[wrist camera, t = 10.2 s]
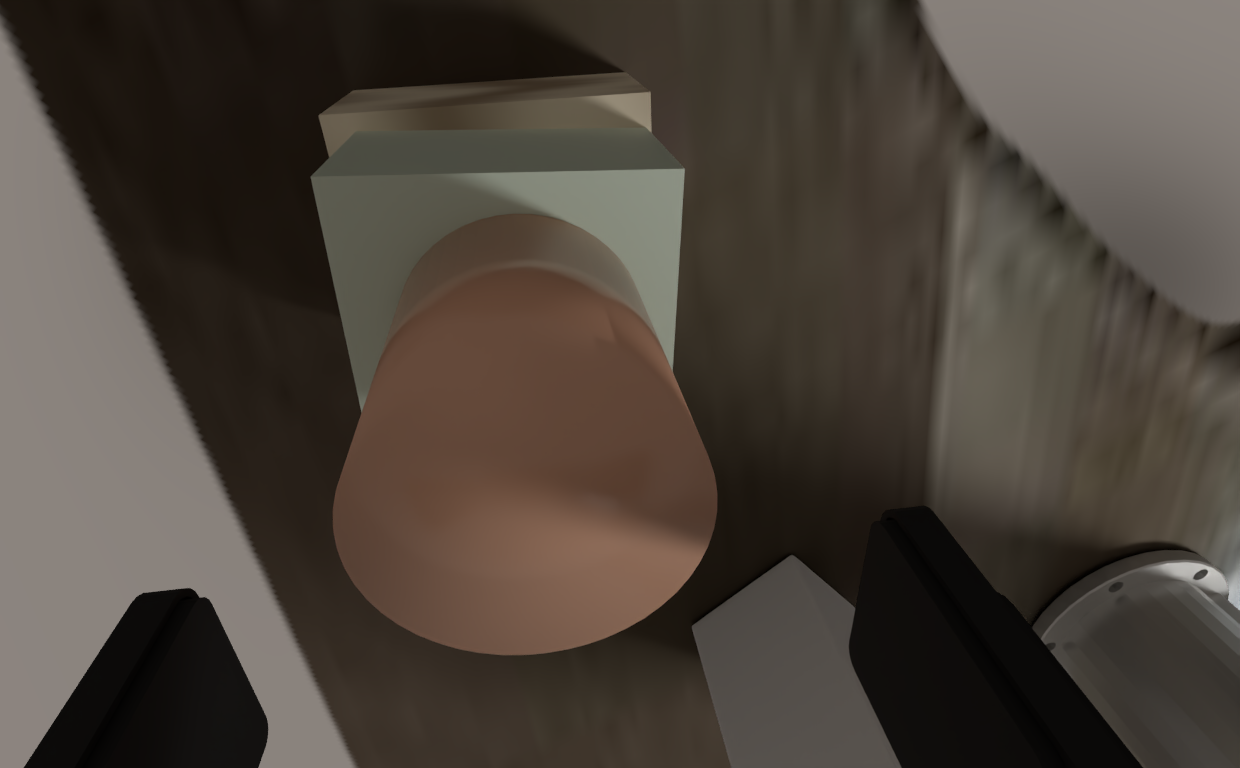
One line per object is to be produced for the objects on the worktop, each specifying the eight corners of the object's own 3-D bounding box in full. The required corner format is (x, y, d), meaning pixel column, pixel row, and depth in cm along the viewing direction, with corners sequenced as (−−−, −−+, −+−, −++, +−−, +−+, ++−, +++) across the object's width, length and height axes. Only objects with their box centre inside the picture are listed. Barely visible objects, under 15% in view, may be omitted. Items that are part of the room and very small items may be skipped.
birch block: (624, 71, 23) (650, 92, 19) (633, 310, 28) (656, 370, 24) (354, 89, 22) (318, 115, 18) (410, 333, 27) (392, 399, 23)
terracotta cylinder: (645, 207, 16) (732, 348, 10) (641, 424, 19) (705, 633, 13) (374, 220, 15) (287, 380, 9) (417, 443, 18) (373, 674, 12)
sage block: (645, 127, 19) (684, 168, 15) (638, 370, 24) (667, 456, 19) (355, 131, 18) (310, 176, 14) (400, 384, 23) (375, 478, 18)
